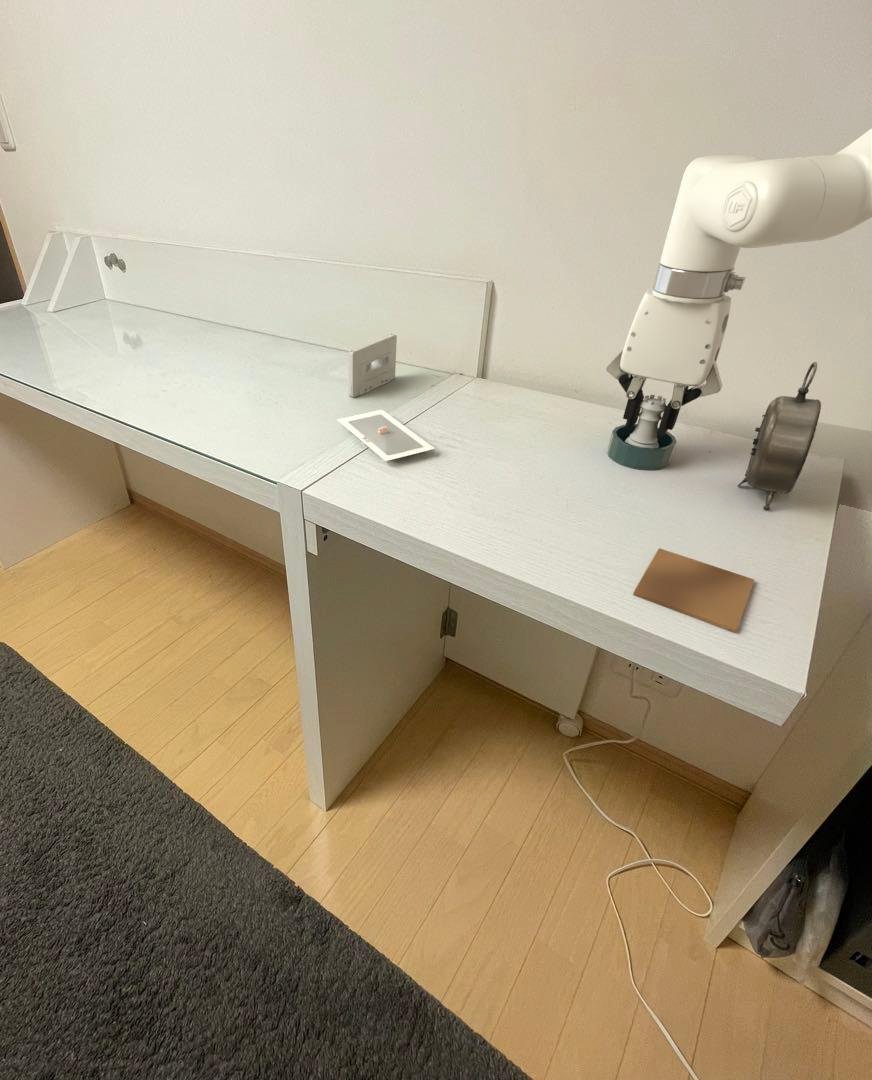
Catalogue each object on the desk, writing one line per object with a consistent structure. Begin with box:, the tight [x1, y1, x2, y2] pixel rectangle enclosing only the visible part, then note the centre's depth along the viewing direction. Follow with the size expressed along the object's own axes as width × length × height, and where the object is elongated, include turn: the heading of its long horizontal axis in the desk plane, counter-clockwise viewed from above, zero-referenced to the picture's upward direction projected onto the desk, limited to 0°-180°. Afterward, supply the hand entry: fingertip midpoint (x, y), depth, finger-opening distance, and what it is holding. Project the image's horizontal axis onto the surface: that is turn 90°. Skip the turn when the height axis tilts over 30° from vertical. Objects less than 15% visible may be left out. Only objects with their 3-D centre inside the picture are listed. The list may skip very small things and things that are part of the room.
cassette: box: [348, 333, 398, 398], centre depth 103 cm, size 12×2×8 cm, turn 139°
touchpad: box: [336, 409, 436, 462], centre depth 88 cm, size 8×15×2 cm, turn 25°
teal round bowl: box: [606, 423, 677, 471], centre depth 82 cm, size 8×8×3 cm
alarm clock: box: [737, 361, 822, 511], centre depth 70 cm, size 11×5×16 cm, turn 147°
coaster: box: [632, 547, 755, 634], centre depth 60 cm, size 9×9×1 cm
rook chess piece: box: [625, 394, 667, 448], centre depth 81 cm, size 4×4×8 cm
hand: (646, 427), depth 81 cm, fingers closed on rook chess piece, 3 cm apart
